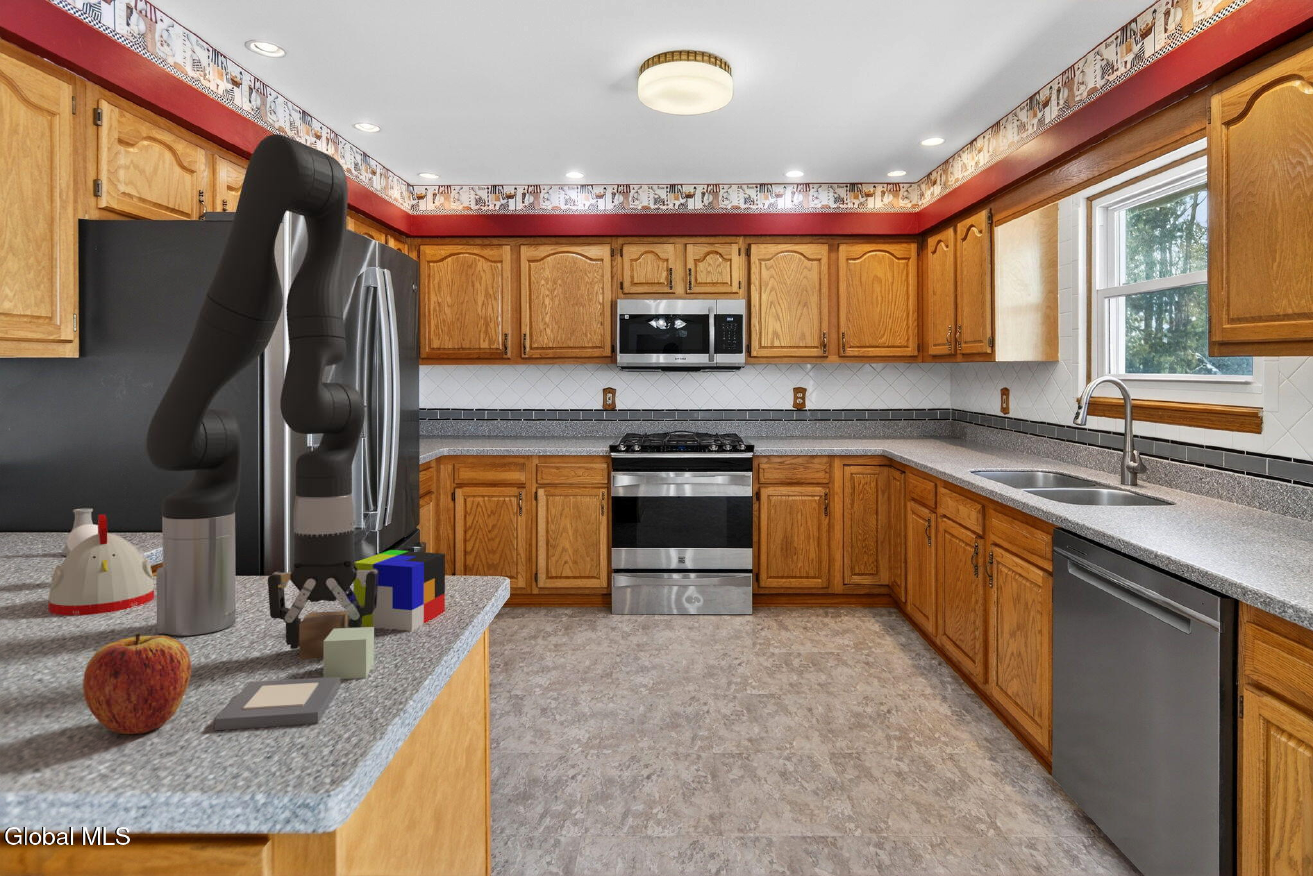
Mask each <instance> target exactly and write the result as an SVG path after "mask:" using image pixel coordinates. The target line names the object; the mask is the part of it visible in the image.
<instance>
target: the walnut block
mask: <svg viewBox="0 0 1313 876" xmlns="http://www.w3.org/2000/svg"><path fill="white" fill-rule="evenodd" d="M348 617H349V614H348V613H347V611H346V610H338V611H335V610H334V611H315V612H313V611H312V612H308V614H307V615H306V616H304V618H303V619H302V620H301V622H300V623H299V647H298V648H299V655H298V656H299V660H312V659H313V660H314V659H315V658H316V660H317V659H324V640H325V639H326V638H327V636H328V635H329V634H330V633H331V631H332V630H333V629H338V628H349V618H348Z"/></svg>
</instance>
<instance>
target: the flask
mask: <svg viewBox="0 0 1313 876" xmlns="http://www.w3.org/2000/svg"><path fill="white" fill-rule="evenodd" d="M93 510H94V509H93V508H76V509H73V510H72V512H73V513H74V521H73V527H72V529H71V531H70V533H71V532H72V531H73V530H74V529H75V528H77V527H79V526H82V525H86V524H94V523H93V519H92V512H94V511H93ZM70 552H71V551H70V550H69V548H68V546H67V542H65V545H64V547H63V549H62V551H61V554H60V556H64V557H67V556H68V554H69V553H70Z"/></svg>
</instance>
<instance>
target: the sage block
mask: <svg viewBox="0 0 1313 876" xmlns="http://www.w3.org/2000/svg"><path fill="white" fill-rule="evenodd" d="M374 664H375V628H374V627H361V628H349V627H348V628H338V629H333V630H332V631H331V633H330V634H329V635H328V636H327V638H326V639H325V640H324V658H323V678H328V677H340V680H349V679H352V680H353V679H367V677H368V675H369V674H370V671H371V670H372V668H373V666H374Z"/></svg>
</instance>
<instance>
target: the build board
mask: <svg viewBox="0 0 1313 876" xmlns="http://www.w3.org/2000/svg"><path fill="white" fill-rule="evenodd" d="M340 687H341V679H340V677H328V678H324V677H312V678H311V677H310V678H295V679H280V680H279V679H277V680H258V681H250V682H248V683H247V685H246V686H245V687H244V688H243V689H242V690H241V691H240V692H239V693H238V694H237V695H236V696H235V697H234V698H233V699H232V701H231V702H229V703H228V705H227V706H225V708H224V709H223V710H221V712H220V713H219V714H218V715H217V717H216V718H214V731H222V730H223V731H224V730H225V731H226V730H239V729H240V730H241V729H252V728H268V727H281V726H282V727H284V726H296V725H299V726H300V725H312V724H319V722H320V721H321V719H322V718H323V716H324V714H325V712H326V711H327V709H328V707H329V706H330V704H331V702H332V701H333V699H334V698H335V696H336V694H337V692H338V691H339V690H340Z"/></svg>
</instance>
